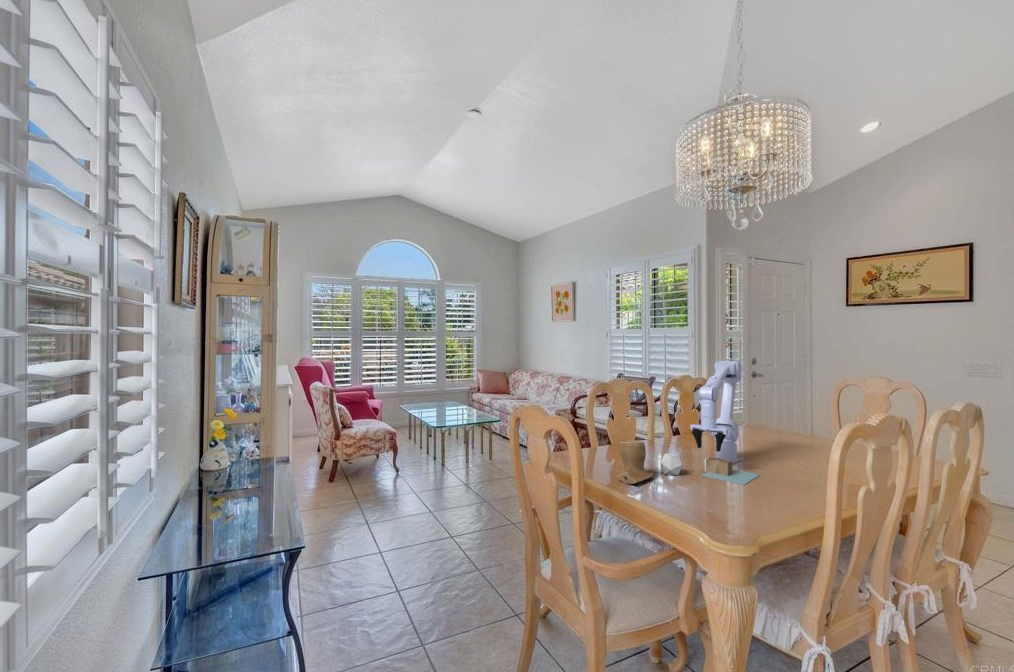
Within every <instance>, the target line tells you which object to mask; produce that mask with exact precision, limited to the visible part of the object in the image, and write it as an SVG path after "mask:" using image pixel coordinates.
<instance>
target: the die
mask: <svg viewBox="0 0 1014 672" xmlns="http://www.w3.org/2000/svg"><path fill="white" fill-rule="evenodd" d="M659 463H660V467H661V468H662V471H663V474H664V475H670V476H679V474H680V472H681V470H682V468H683V464H682V461H681V458H680V455H679V454H676V453H668V452H667V453H664V454H663V457H661V460H660V462H659Z"/></svg>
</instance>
